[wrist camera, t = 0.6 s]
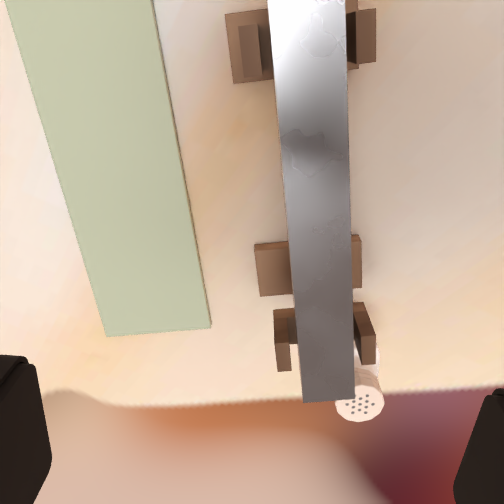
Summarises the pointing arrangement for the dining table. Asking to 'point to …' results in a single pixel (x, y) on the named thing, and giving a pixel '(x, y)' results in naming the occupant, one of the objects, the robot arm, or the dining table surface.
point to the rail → (316, 187)
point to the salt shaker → (363, 392)
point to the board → (116, 157)
